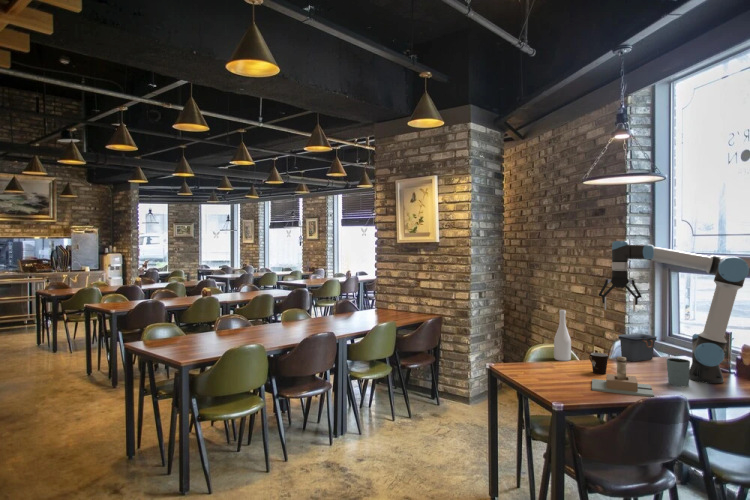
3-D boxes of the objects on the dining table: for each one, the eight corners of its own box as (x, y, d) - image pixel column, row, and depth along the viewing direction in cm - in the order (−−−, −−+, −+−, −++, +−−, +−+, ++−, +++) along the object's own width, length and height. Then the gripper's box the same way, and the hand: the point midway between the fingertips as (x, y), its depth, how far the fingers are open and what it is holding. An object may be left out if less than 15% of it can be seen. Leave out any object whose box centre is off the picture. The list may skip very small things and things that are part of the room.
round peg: (625, 385, 240) (626, 357, 240) (626, 388, 236) (626, 358, 236) (616, 384, 242) (616, 356, 242) (616, 387, 238) (617, 358, 238)
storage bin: (640, 355, 310) (640, 332, 310) (663, 360, 296) (663, 337, 295) (614, 358, 302) (615, 335, 302) (636, 364, 288) (636, 339, 288)
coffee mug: (610, 375, 263) (610, 356, 263) (592, 374, 265) (592, 355, 265) (604, 369, 274) (604, 351, 274) (587, 369, 276) (587, 351, 276)
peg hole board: (650, 386, 242) (650, 376, 242) (654, 397, 226) (654, 386, 225) (592, 380, 253) (592, 371, 253) (591, 390, 236) (591, 379, 236)
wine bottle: (571, 361, 294) (571, 311, 293) (554, 360, 297) (554, 310, 296) (570, 358, 303) (570, 309, 302) (553, 357, 306) (554, 308, 305)
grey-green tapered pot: (678, 387, 240) (678, 363, 240) (661, 382, 250) (661, 358, 250) (695, 385, 243) (695, 361, 243) (677, 380, 253) (677, 357, 253)
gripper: (646, 270, 260) (645, 310, 260) (594, 269, 270) (593, 308, 270) (647, 270, 253) (647, 312, 253) (593, 270, 263) (593, 309, 263)
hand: (619, 310), depth 261 cm, fingers open, 13 cm apart
